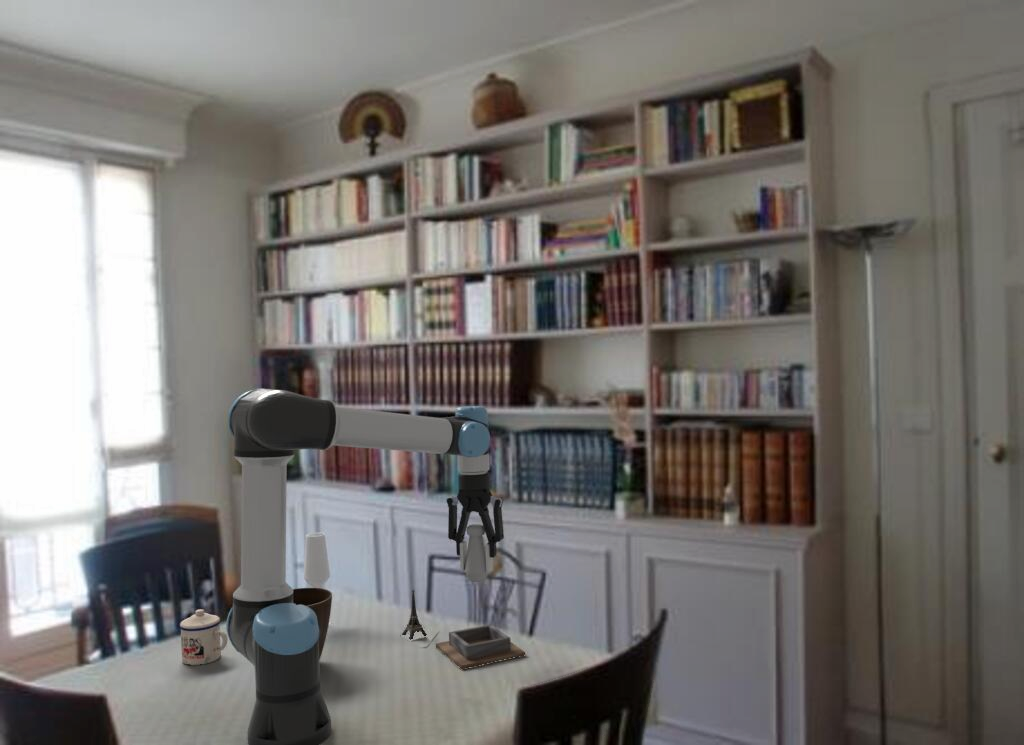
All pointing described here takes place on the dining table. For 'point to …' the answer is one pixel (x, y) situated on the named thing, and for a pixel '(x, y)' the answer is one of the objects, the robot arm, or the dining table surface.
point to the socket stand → (478, 646)
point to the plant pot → (316, 608)
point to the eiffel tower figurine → (413, 621)
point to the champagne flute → (316, 561)
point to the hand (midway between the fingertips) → (476, 569)
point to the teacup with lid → (201, 638)
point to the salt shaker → (476, 554)
